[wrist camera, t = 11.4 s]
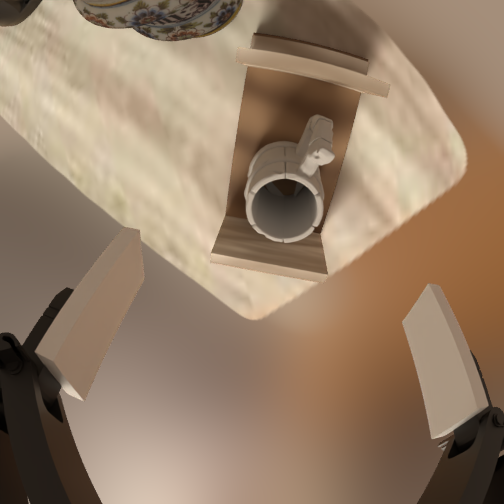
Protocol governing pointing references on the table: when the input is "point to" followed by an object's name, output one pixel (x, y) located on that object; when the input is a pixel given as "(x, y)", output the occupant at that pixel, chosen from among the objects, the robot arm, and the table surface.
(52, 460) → the robot arm
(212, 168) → the table surface
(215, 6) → the apothecary jar
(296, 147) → the mug
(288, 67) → the shelf
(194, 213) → the table surface
